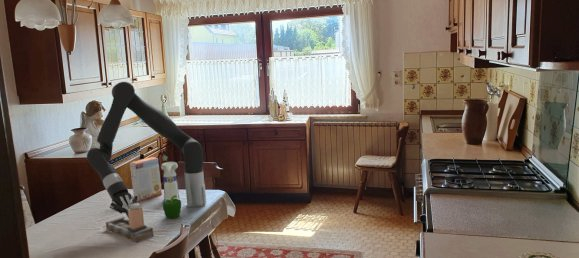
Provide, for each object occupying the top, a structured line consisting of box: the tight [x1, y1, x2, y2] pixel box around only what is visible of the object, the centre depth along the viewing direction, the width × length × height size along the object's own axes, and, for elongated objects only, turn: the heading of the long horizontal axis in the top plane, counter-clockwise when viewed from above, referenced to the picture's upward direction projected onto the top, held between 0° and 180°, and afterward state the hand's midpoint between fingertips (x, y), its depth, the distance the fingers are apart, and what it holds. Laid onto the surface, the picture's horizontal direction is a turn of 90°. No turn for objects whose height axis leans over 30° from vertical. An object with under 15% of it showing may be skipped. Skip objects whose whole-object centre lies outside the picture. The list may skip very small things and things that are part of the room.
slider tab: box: [127, 202, 147, 233], centre depth 187 cm, size 5×6×12 cm
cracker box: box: [129, 156, 163, 202], centre depth 240 cm, size 14×6×21 cm, turn 141°
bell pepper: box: [162, 195, 182, 220], centre depth 209 cm, size 8×8×10 cm
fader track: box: [105, 216, 154, 243], centre depth 193 cm, size 24×8×4 cm, turn 50°
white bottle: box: [160, 154, 180, 202], centre depth 235 cm, size 8×9×25 cm
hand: (133, 218), depth 189 cm, fingers closed
